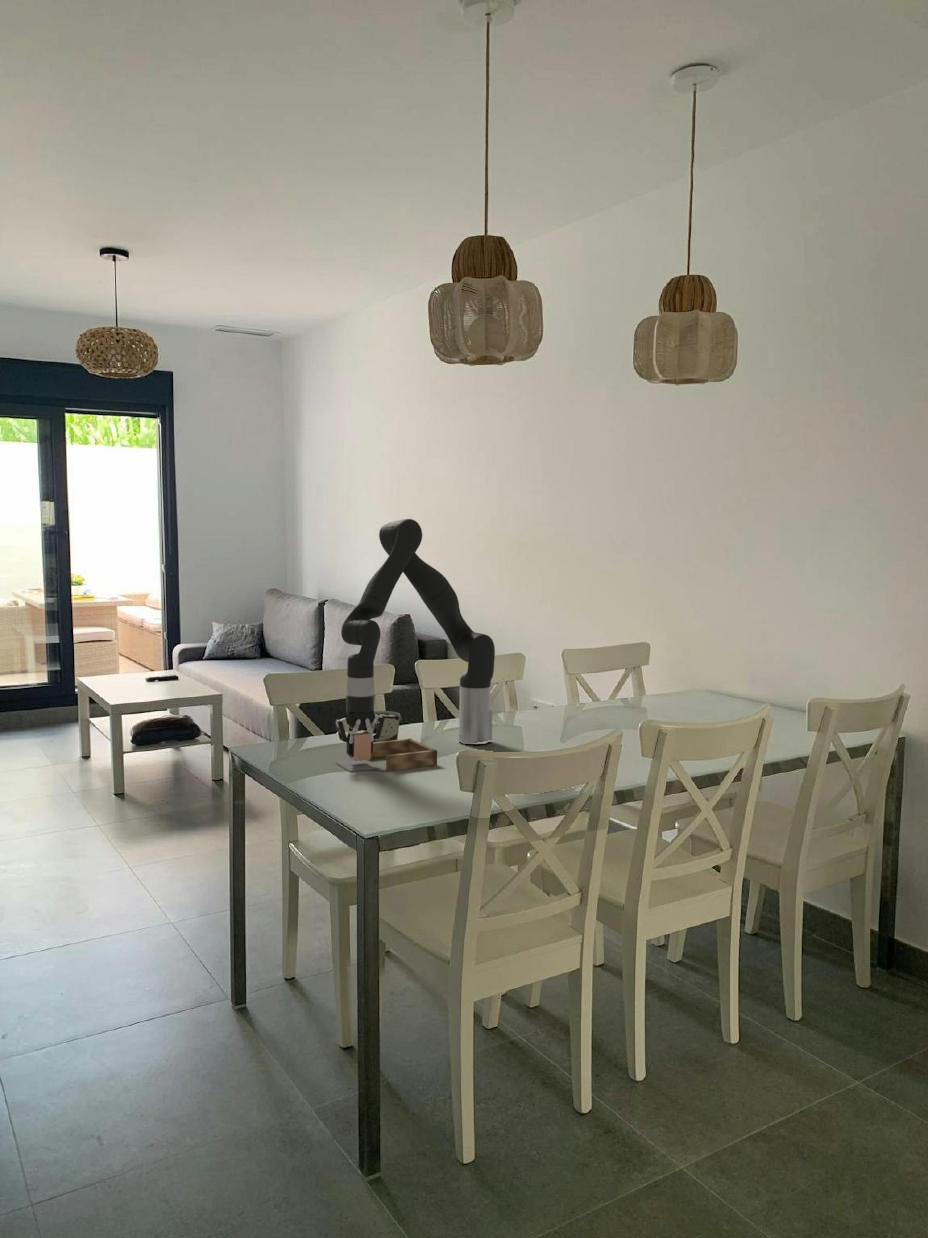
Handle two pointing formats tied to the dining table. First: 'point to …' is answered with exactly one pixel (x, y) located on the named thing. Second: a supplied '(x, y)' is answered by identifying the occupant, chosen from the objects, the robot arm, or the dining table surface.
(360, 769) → the grey mat
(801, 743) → the dining table surface
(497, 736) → the dining table surface
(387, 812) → the dining table surface
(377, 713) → the food container
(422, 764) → the open box
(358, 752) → the terracotta block
